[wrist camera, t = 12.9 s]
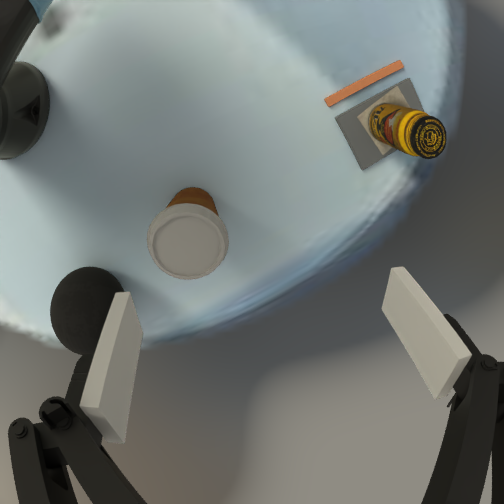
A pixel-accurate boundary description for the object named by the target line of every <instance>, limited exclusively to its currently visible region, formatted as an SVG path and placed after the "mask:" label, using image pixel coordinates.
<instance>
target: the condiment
mask: <svg viewBox="0 0 504 504" xmlns="http://www.w3.org/2000/svg"><path fill="white" fill-rule="evenodd" d="M395 104H396V105H395ZM357 118H358V119H359V121H360V122H361V124H362V125H363V127H364V128H365V130H366V131H367V133H368V134H369V135H370V137H371V138H372V140H373V141H374V143H375V144H376V146H377V147H378V149H379V150H380V152H381V153H382V155H384V154H385V153H386V152H387V151H389V150H390V149H391V148H392V147H393V148H395V149H398V150H400V151H402V152H404V153H406V154H409V155H411V156H420V157H422V158H425V159H431V158H435V157H437V156H439V155H440V154H441V153H442V151H443V150H444V148H445V145H446V131H445V128H444V126H443V124H442V123H441V122H440V120H438V119H437V118H435V117H433V116H430V115H428V114H427V113H425V112H423V111H420V110H417V109H412V108H410V106H409V104H408V103H407V101H406V99H405V98H404V96H403V94H402V93H401V91H400V89H399V88H398V86H396V87H394V88H393V89H392V90H390V91H389V92H388V93H387V94H385V95H384V96H383V97H381V98H380V99H379V100H377V101H376V102H375V103H374V104H372V105H371V106H370V107H368V108H367V109H366V110H365V111H364V112H362V113H361V114H360V115H359V116H358V117H357Z"/></svg>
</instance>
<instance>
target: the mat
mask: <svg viewBox="0 0 504 504" xmlns="http://www.w3.org/2000/svg"><path fill="white" fill-rule="evenodd" d="M396 86H398V88H399V89H400V91H401V93H402V94H403V96H404V98H405V99H406V101H407V103H408V104H409V106H410V108H412V109H417V110H420V111H423V112H424V110H423V108H422V105H421V103H420V101H419V98H418V96H417V93H416V91H415V89H414V87H413V84H412V82H411V80H410V78H407V79H405V80H403V81H401V82H399V83H397V84H395V85H394V86H392V87H390V88H388V89H386V90H384V91H382V92H380V93H378V94H377V95H375V96H373V97H371V98H369V99H367V100H366V101H364V102H362V103H360V104H358V105H357V106H355V107H353V108H351V109H349V110H348V111H346V112H344V113H342V114H341V115H339V116H337V117H335V119H336V121H337V123H338V125H339V127H340V129H341V130H342V132H343V134H344V136H345V138H346V140H347V142H348V144H349V146H350V148H351V150H352V152H353V154H354V155H355V157H356V159H357V162H358V164H359V166H360V168H361V169H362V170H364V169H366V168H368V167H369V166H371V165H373V164H374V163H376V162H378V161H379V160H381V159H382V158H384V157H386V156H387V155H389V154H391V153H392V152H394V151H396V150H397V149H395V148H393V147H392V148H391V149H390V150H389V151H387V152H386V153H385V154H384V155H382V153H381V152H380V150H379V149H378V147H377V146H376V144H375V143H374V141H373V140H372V138H371V137H370V135H369V134H368V133H367V131H366V130H365V128H364V127H363V125H362V124H361V122H360V121H359V119H358V118H357V117H358V116H359V115H360V114H361V113H362V112H364V111H365V110H366V109H367V108H368V107H370V106H371V105H372V104H374V103H375V102H376V101H377V100H379V99H380V98H381V97H383V96H384V95H385V94H387V93H388V92H389V91H390V90H392V89H393V88H394V87H396ZM395 105H396V104H395Z"/></svg>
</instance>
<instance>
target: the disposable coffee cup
mask: <svg viewBox="0 0 504 504" xmlns="http://www.w3.org/2000/svg"><path fill="white" fill-rule="evenodd" d="M228 244H229V239H228V233H227V230H226V228H225V225H224V223H223V222H222V220H221V219H220V218H219V216H218V213H217V210H216V207H215V204H214V201H213V199H212V197H211V196H210V195H209V194H208V193H207V192H206V191H204V190H203V189H200V188H195V187H190V188H186V189H183V190H181V191H180V192H178V193H177V194H176V196H175V197H174V198H173V200H172V201H171V202H170V203H169V205H168V206H167V207H166V209H164V210H163V211H161V212H160V213H159V214H158V215H157V216H156V217H155V218H154V219H153V221H152V222H151V224H150V226H149V229H148V233H147V245H148V249H149V252H150V254H151V256H152V258H153V260H154V262H155V263H156V265H157V266H158V267H159V268H160V269H161V270H162V271H164V272H165V273H167V274H168V275H170V276H173V277H175V278H179V279H198V278H201V277H203V276H206V275H208V274H210V273H211V272H212V271H214V270H215V269H216V268H217V267H218V266H219V265H220V263H221V262H222V261H223V259H224V258H225V256H226V253H227V250H228Z"/></svg>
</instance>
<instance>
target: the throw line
mask: <svg viewBox="0 0 504 504" xmlns="http://www.w3.org/2000/svg"><path fill="white" fill-rule="evenodd" d="M403 67H404V66H403V64H402V62H401V60H398V61H396V62H394V63H392V64H390V65H388V66H386V67H384V68H382V69H380V70H378V71H376V72H374V73H372V74H370V75H368V76H366V77H364V78H362V79H360V80H359V81H357V82H355V83H353V84H351V85H349V86H347V87H345V88H344V89H342V90H340V91H338V92H336V93H334V94H333V95H331V96H329V97H327V98H325V99H324V100H325V102H326V103H327V105H328V107H330V106H331V105H333V104H335V103H337V102H338V101H340V100H342V99H344V98H346V97H347V96H349V95H351V94H353V93H355V92H357V91H359V90H360V89H362V88H364V87H366V86H368V85H370V84H372V83H374V82H376V81H377V80H379V79H381V78H383V77H385V76H387V75H389V74H391V73H393V72H395V71H397V70H399V69H401V68H403Z"/></svg>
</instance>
